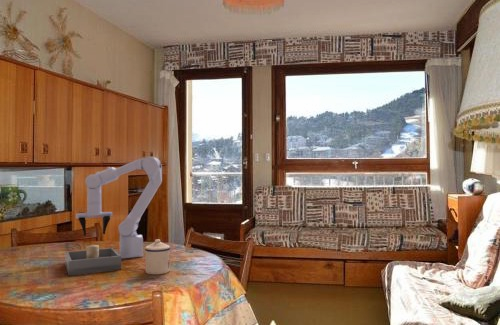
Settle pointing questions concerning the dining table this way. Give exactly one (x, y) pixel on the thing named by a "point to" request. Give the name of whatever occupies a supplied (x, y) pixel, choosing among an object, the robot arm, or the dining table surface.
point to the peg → (92, 251)
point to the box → (92, 262)
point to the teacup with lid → (157, 258)
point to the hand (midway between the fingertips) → (94, 234)
